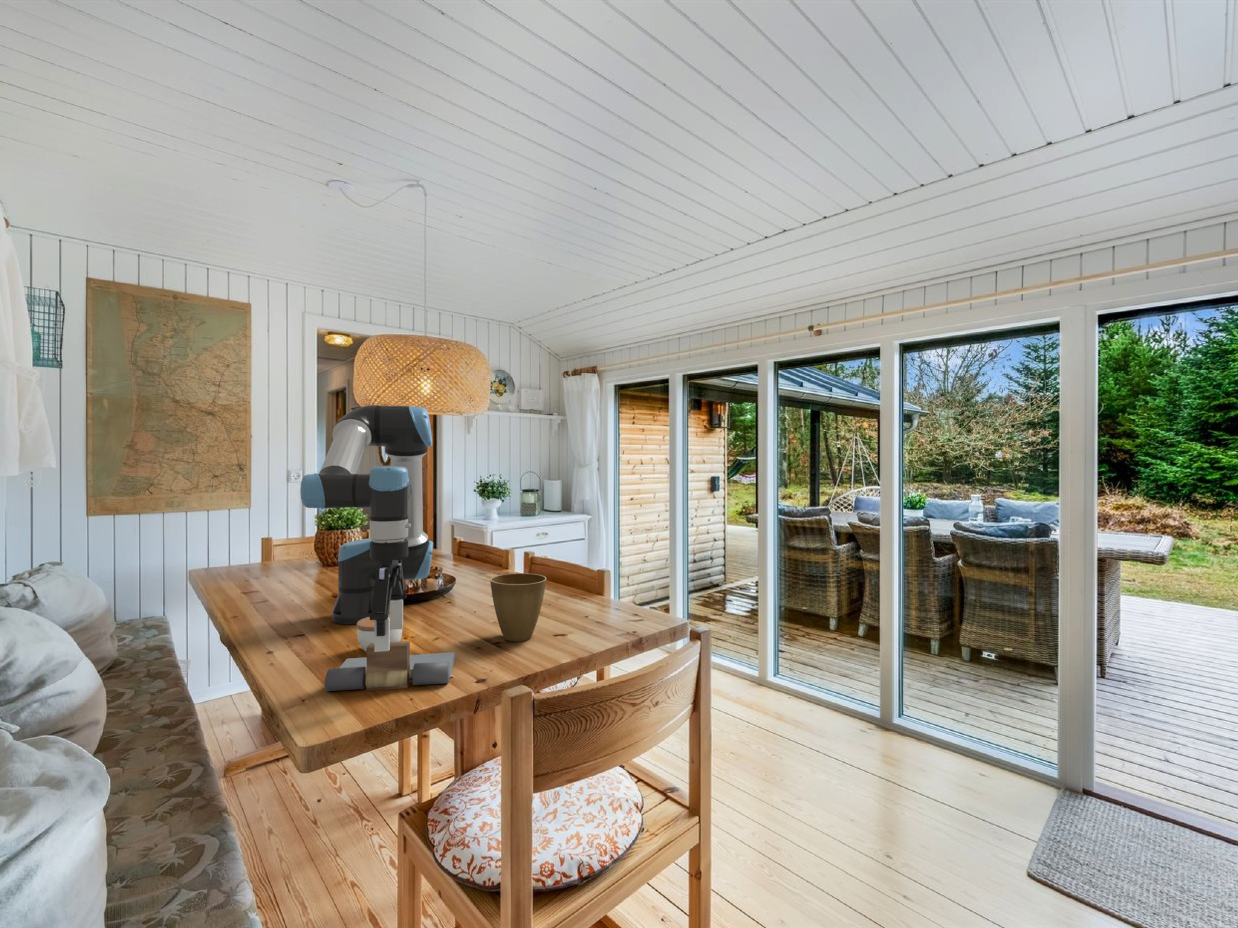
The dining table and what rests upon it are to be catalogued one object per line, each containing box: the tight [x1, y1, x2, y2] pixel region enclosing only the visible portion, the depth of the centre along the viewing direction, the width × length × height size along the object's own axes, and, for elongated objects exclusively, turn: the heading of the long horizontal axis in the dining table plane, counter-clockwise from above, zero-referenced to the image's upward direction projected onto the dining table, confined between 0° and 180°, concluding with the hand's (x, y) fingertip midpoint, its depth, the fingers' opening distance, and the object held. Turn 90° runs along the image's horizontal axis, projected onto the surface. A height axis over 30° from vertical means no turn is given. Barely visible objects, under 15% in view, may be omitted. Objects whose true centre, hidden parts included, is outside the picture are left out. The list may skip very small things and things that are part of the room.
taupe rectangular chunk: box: [365, 640, 411, 692], centre depth 118 cm, size 4×8×9 cm, turn 100°
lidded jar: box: [356, 614, 404, 653], centre depth 139 cm, size 11×11×9 cm
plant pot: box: [489, 572, 547, 642], centre depth 150 cm, size 15×15×16 cm
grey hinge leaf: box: [324, 651, 456, 692], centre depth 123 cm, size 15×24×4 cm, turn 101°
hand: (389, 639), depth 118 cm, fingers open, 13 cm apart
